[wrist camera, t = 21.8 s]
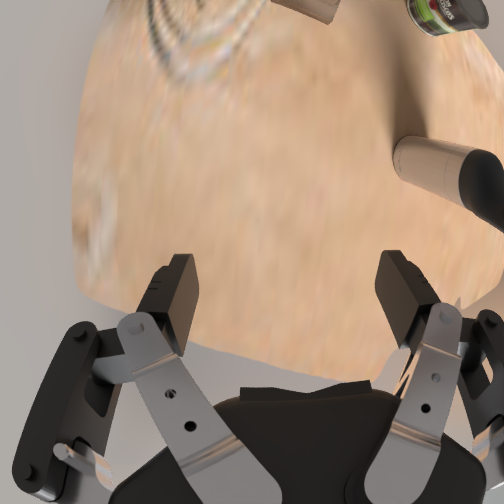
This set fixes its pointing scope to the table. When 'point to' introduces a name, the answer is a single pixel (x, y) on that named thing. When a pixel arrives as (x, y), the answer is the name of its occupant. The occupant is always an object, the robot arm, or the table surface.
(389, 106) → the table surface
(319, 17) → the tall stand
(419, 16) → the coffee can
